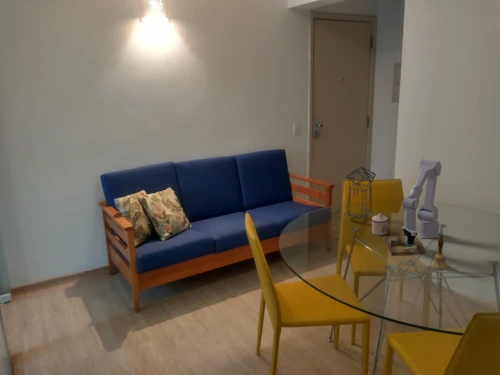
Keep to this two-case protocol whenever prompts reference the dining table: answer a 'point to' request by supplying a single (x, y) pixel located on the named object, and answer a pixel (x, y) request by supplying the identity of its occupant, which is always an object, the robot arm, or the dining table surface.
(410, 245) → the bobbin
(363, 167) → the geometric lantern
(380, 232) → the teacup with lid
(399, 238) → the hook arm
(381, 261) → the dining table surface
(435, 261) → the hand bell
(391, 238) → the wooden picture frame
